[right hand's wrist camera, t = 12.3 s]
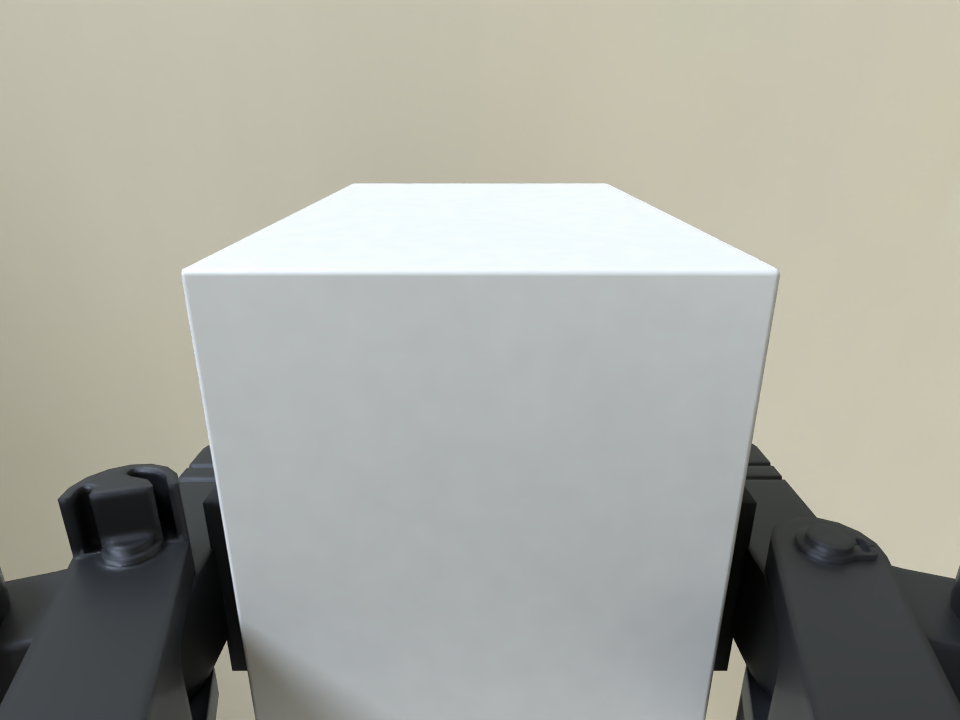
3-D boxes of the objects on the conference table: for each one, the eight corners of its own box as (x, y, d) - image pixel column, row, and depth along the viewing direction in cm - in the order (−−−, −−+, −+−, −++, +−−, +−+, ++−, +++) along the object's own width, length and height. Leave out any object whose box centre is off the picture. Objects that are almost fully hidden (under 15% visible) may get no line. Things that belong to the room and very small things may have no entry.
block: (584, 545, 16) (674, 912, 9) (376, 545, 16) (286, 912, 9) (609, 183, 13) (783, 269, 6) (351, 183, 13) (177, 268, 6)
